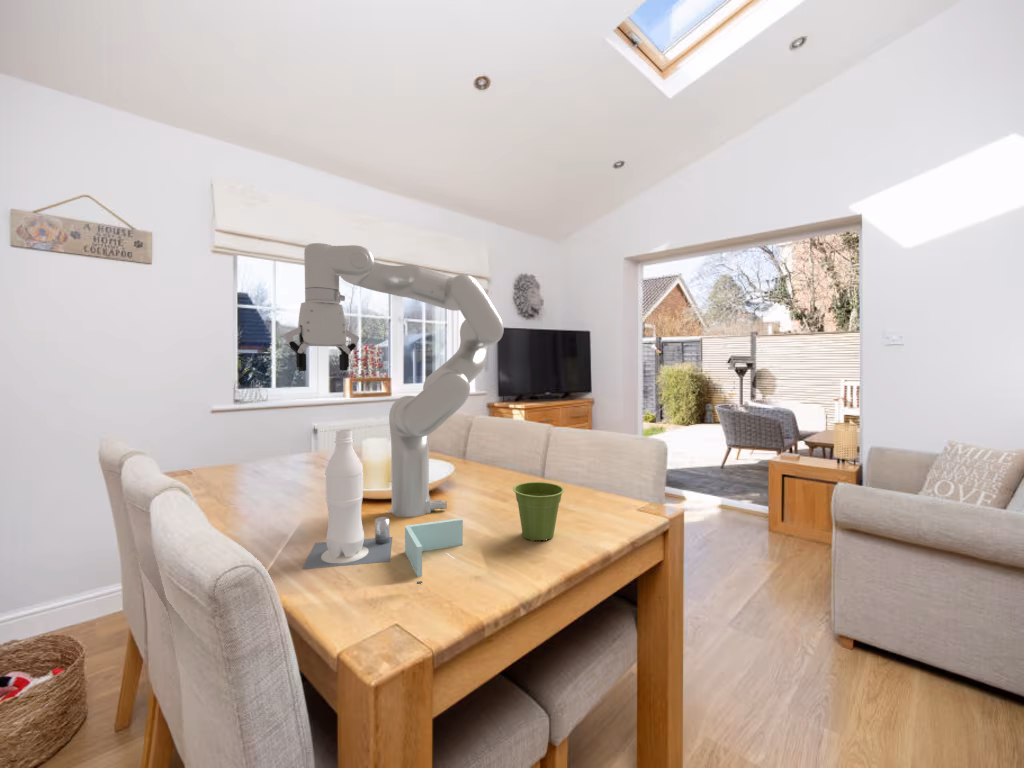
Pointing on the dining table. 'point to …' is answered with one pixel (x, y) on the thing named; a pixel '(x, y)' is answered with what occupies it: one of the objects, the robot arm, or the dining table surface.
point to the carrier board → (365, 556)
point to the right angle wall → (431, 539)
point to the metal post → (382, 530)
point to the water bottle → (344, 498)
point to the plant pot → (538, 508)
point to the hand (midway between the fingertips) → (323, 370)
